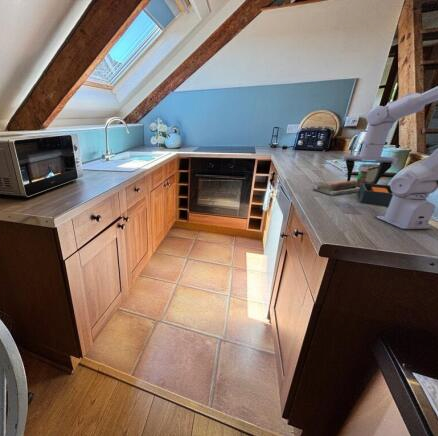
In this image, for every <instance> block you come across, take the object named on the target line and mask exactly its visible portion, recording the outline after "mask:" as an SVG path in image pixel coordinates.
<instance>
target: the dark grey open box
mask: <svg viewBox="0 0 438 436" xmlns="http://www.w3.org/2000/svg"><path fill="white" fill-rule="evenodd" d="M371 187H378V188H386V189H387V191H388V192H389V193H386V192H377V191H370V190H371ZM359 188H360V189H359V192H357V195H358V199H359V201H360V203H361V204H368V205H375V206H383V207H389V204H390V202H391V199H392V196H393V195H392V193H393V192H392V191H391V189H390V185H389V184H380V183H377V184H370V183H361V185H360V187H359Z"/></svg>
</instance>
